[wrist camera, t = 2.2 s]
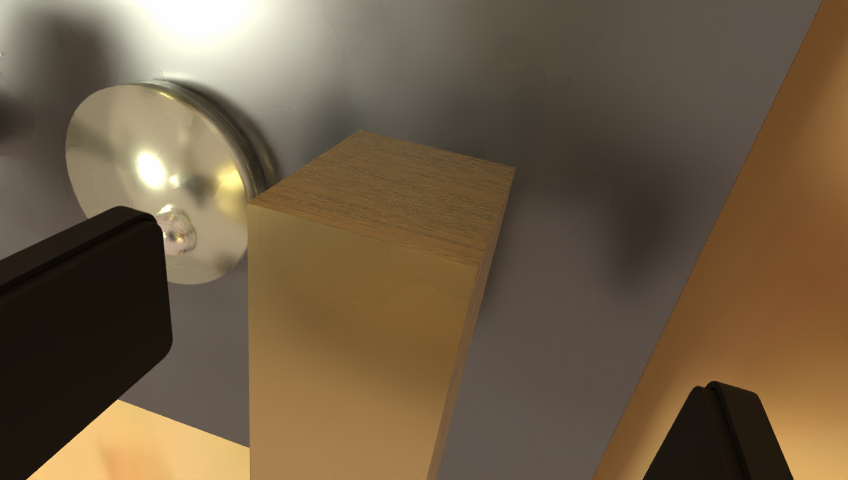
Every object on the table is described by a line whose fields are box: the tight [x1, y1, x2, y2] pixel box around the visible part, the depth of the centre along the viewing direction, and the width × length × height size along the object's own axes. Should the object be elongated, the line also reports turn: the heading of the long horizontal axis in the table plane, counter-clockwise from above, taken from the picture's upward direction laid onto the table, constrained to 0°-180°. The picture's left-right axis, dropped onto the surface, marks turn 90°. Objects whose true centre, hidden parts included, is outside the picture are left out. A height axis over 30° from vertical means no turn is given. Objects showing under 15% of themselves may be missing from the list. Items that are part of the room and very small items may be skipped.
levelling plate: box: [0, 0, 822, 480], centre depth 13 cm, size 18×24×4 cm
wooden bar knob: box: [247, 130, 516, 480], centre depth 9 cm, size 7×2×6 cm, turn 170°
